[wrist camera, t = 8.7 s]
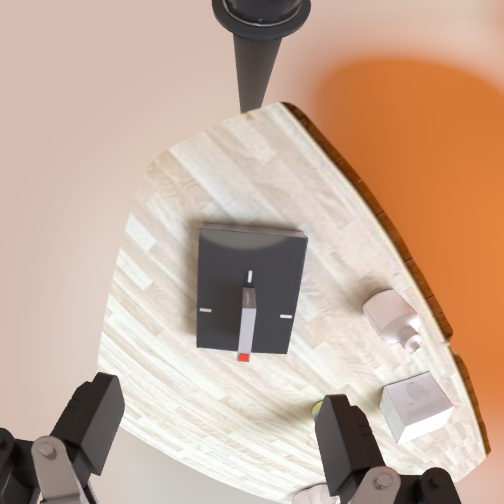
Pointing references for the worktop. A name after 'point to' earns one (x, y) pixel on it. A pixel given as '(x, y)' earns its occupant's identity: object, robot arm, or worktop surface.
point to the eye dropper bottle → (393, 320)
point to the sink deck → (248, 284)
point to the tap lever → (246, 324)
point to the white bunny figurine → (315, 496)
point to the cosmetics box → (415, 407)
